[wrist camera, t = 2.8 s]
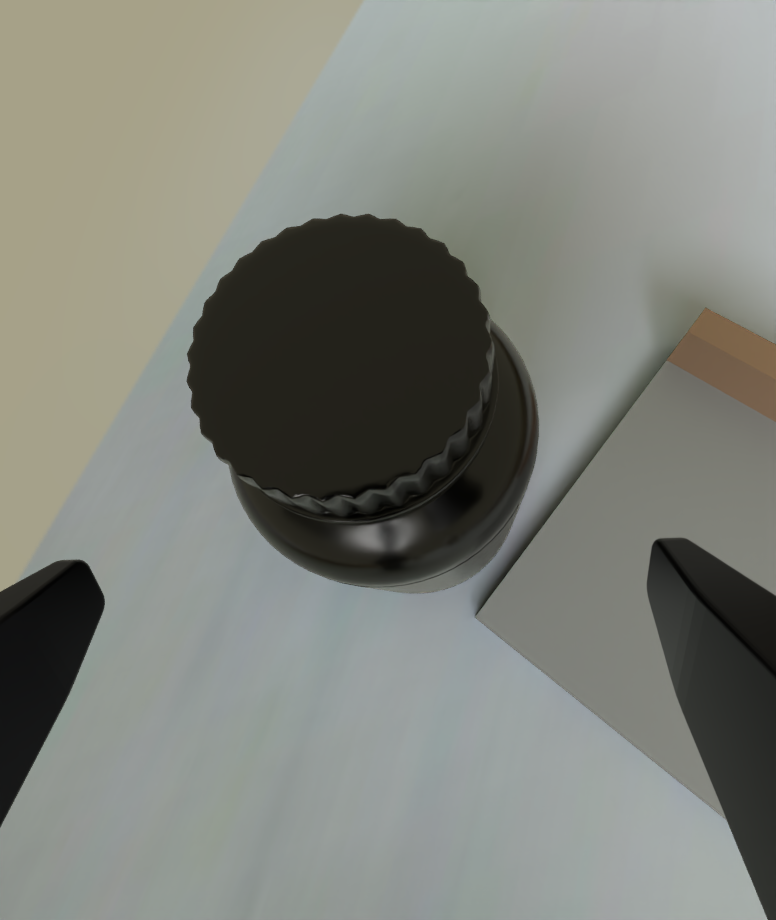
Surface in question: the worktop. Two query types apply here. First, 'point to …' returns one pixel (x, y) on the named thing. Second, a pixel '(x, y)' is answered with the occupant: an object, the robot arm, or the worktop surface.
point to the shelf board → (651, 537)
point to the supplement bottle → (365, 404)
